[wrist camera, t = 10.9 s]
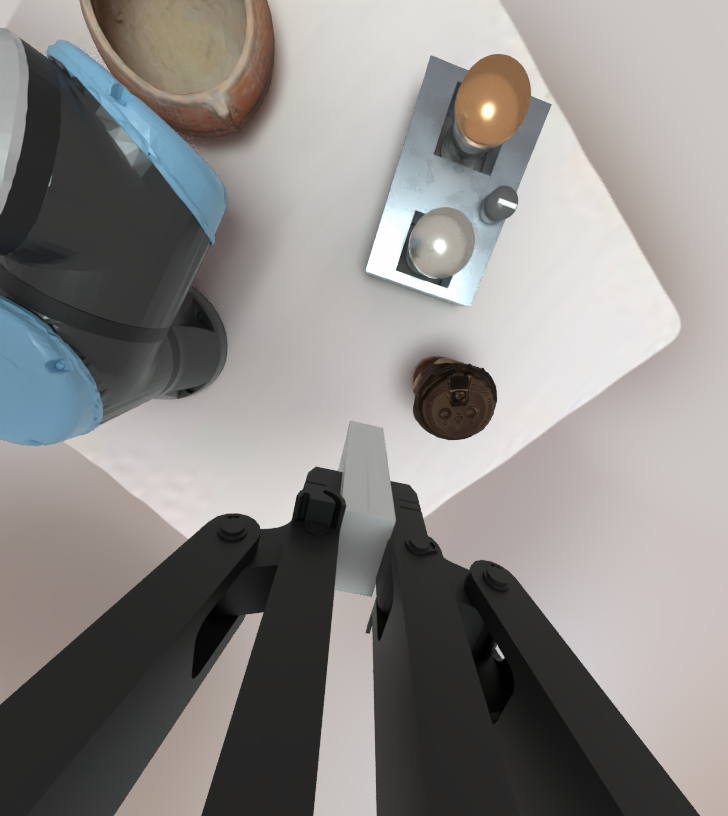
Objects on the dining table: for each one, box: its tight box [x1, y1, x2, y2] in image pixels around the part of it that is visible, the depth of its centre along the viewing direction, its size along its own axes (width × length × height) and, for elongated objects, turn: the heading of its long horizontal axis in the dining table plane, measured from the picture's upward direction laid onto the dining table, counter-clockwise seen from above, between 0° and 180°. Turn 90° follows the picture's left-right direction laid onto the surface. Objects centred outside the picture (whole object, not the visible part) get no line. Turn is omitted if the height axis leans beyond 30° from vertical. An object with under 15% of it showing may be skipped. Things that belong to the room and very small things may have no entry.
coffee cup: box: [412, 357, 497, 440], centre depth 40 cm, size 9×8×13 cm
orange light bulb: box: [441, 54, 531, 169], centre depth 33 cm, size 6×6×10 cm
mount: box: [366, 56, 552, 307], centre depth 37 cm, size 12×19×6 cm, turn 162°
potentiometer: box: [480, 186, 518, 224], centre depth 34 cm, size 3×3×3 cm
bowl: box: [79, 0, 274, 137], centre depth 32 cm, size 16×16×10 cm
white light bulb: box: [406, 207, 475, 278], centre depth 36 cm, size 6×6×10 cm
